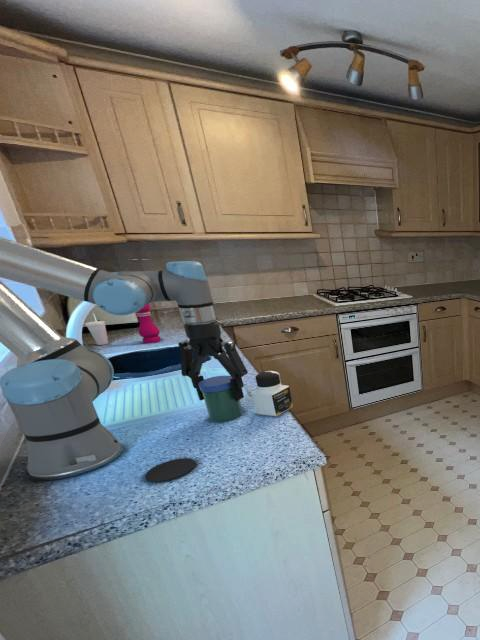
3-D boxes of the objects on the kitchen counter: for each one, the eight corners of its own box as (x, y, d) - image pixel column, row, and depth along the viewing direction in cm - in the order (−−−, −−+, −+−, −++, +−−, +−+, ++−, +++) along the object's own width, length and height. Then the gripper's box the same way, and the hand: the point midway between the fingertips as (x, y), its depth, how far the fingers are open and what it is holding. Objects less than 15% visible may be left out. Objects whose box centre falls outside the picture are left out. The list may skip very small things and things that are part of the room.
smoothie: (114, 343, 181) (103, 312, 176) (95, 346, 176) (83, 314, 171) (109, 341, 185) (98, 310, 179) (90, 344, 180) (78, 313, 174)
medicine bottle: (276, 416, 117) (268, 378, 113) (255, 414, 119) (246, 376, 114) (293, 406, 124) (286, 370, 120) (273, 404, 125) (265, 368, 121)
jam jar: (204, 423, 113) (194, 388, 109) (216, 411, 120) (207, 378, 116) (237, 420, 115) (228, 386, 111) (246, 408, 122) (238, 376, 118)
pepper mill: (162, 338, 191) (148, 295, 183) (162, 341, 185) (148, 298, 178) (142, 340, 186) (127, 297, 179) (141, 344, 181) (126, 299, 174)
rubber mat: (134, 482, 87) (133, 480, 87) (167, 459, 96) (167, 457, 96) (176, 483, 88) (175, 481, 87) (205, 460, 96) (205, 458, 96)
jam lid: (194, 393, 109) (192, 387, 109) (207, 382, 117) (205, 376, 116) (230, 391, 111) (228, 385, 111) (240, 380, 119) (239, 374, 118)
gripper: (147, 324, 104) (173, 403, 112) (233, 325, 104) (252, 404, 112) (170, 318, 111) (193, 392, 119) (250, 319, 111) (268, 394, 119)
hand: (222, 398), depth 116 cm, fingers open, 9 cm apart
